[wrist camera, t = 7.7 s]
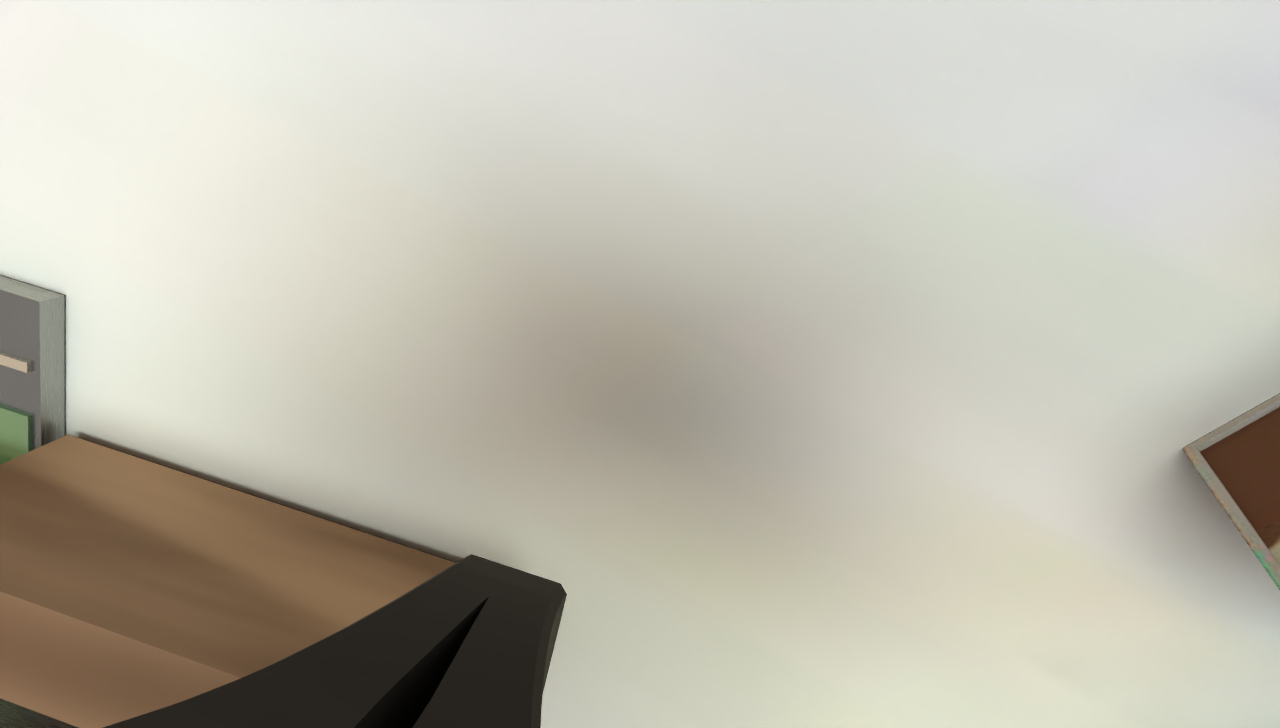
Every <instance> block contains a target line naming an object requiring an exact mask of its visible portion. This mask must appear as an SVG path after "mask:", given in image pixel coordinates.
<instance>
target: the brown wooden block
mask: <svg viewBox="0 0 1280 728" xmlns="http://www.w3.org/2000/svg"><path fill="white" fill-rule="evenodd" d="M453 564H455V562H452V561H449V560H446V559H443V558H440V557H437V556H434V555H431V554H427V553H424V552H421V551H418V550H415V549H412V548H409V547H406V546H403V545H400V544H397V543H394V542H391V541H388V540H385V539H382V538H379V537H376V536H373V535H370V534H367V533H364V532H361V531H358V530H355V529H352V528H349V527H346V526H343V525H340V524H337V523H334V522H331V521H328V520H325V519H322V518H319V517H316V516H313V515H310V514H307V513H304V512H301V511H298V510H295V509H292V508H289V507H285V506H282V505H279V504H276V503H273V502H270V501H267V500H264V499H261V498H258V497H255V496H252V495H249V494H246V493H243V492H240V491H237V490H234V489H231V488H228V487H225V486H222V485H219V484H216V483H213V482H210V481H207V480H204V479H201V478H198V477H195V476H192V475H189V474H186V473H183V472H180V471H177V470H174V469H171V468H168V467H165V466H162V465H159V464H156V463H153V462H150V461H147V460H143V459H140V458H137V457H134V456H131V455H128V454H125V453H122V452H119V451H116V450H113V449H110V448H107V447H104V446H101V445H98V444H95V443H92V442H89V441H86V440H83V439H80V438H77V437H74V436H71V435H66V436H64V437H61V438H59V439H57V440H55V441H52V442H50V443H48V444H46V445H43V446H41V447H39V448H37V449H34V450H32V451H30V452H28V453H25V454H23V455H21V456H19V457H16V458H14V459H12V460H10V461H7V462H5V463H3V464H1V465H0V698H1V699H4V700H7V701H9V702H12V703H15V704H17V705H20V706H23V707H25V708H28V709H31V710H33V711H36V712H39V713H41V714H44V715H46V716H49V717H52V718H54V719H57V720H60V721H62V722H65V723H68V724H70V725H73V726H76V727H78V728H103V727H106V726H109V725H112V724H115V723H118V722H121V721H124V720H127V719H131V718H134V717H137V716H140V715H143V714H146V713H149V712H152V711H155V710H158V709H161V708H164V707H167V706H170V705H173V704H176V703H179V702H181V701H184V700H187V699H190V698H192V697H195V696H197V695H200V694H202V693H205V692H208V691H210V690H213V689H215V688H218V687H220V686H223V685H225V684H228V683H230V682H233V681H235V680H238V679H240V678H242V677H245V676H247V675H249V674H251V673H254V672H256V671H258V670H260V669H262V668H265V667H267V666H269V665H271V664H273V663H276V662H278V661H280V660H282V659H284V658H286V657H288V656H290V655H292V654H294V653H296V652H298V651H300V650H302V649H304V648H306V647H308V646H310V645H312V644H314V643H316V642H318V641H320V640H322V639H324V638H326V637H328V636H330V635H332V634H334V633H336V632H338V631H340V630H342V629H343V628H345V627H347V626H349V625H351V624H353V623H354V622H356V621H358V620H360V619H361V618H363V617H365V616H367V615H369V614H370V613H372V612H374V611H376V610H378V609H379V608H381V607H383V606H385V605H386V604H388V603H390V602H392V601H393V600H395V599H397V598H399V597H400V596H402V595H404V594H405V593H407V592H409V591H410V590H412V589H414V588H415V587H417V586H419V585H420V584H422V583H424V582H425V581H427V580H429V579H430V578H432V577H433V576H435V575H437V574H438V573H440V572H442V571H443V570H445V569H447V568H448V567H450V566H451V565H453Z"/></svg>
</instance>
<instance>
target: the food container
mask: <svg viewBox="0 0 1280 728" xmlns="http://www.w3.org/2000/svg"><path fill="white" fill-rule="evenodd" d="M1182 449H1183V450H1184V452H1185V453H1186V454H1187V456H1188V457H1189V459H1190V460H1191V462H1192V463H1193V465H1194V466H1195V468H1196V469H1197V470H1198V472H1199V473H1200V475H1201V476H1202V478H1203V479H1204V481H1205V482H1206V484H1207V485H1208V486H1209V488H1210V489H1211V491H1212V492H1213V494H1214V495H1215V497H1216V498H1217V500H1218V501H1219V502H1220V504H1221V505H1222V507H1223V508H1224V510H1225V511H1226V513H1227V514H1228V516H1229V517H1230V518H1231V520H1232V521H1233V523H1234V524H1235V526H1236V527H1237V529H1238V530H1239V531H1240V533H1241V534H1242V536H1243V537H1244V539H1245V540H1246V542H1247V543H1248V545H1249V546H1250V547H1251V549H1252V550H1253V552H1254V553H1255V555H1256V556H1257V558H1258V559H1259V561H1260V562H1261V563H1262V565H1263V566H1264V568H1265V569H1266V571H1267V572H1268V574H1269V575H1270V577H1271V578H1272V579H1273V581H1274V582H1275V584H1276V585H1277V587H1278V588H1279V590H1280V393H1279V394H1278V395H1276V396H1274V397H1272V398H1271V399H1269V400H1267V401H1265V402H1263V403H1262V404H1260V405H1258V406H1256V407H1255V408H1253V409H1251V410H1249V411H1248V412H1246V413H1244V414H1242V415H1240V416H1239V417H1237V418H1235V419H1233V420H1232V421H1230V422H1228V423H1226V424H1225V425H1223V426H1221V427H1219V428H1217V429H1216V430H1214V431H1212V432H1210V433H1209V434H1207V435H1205V436H1203V437H1202V438H1200V439H1198V440H1196V441H1194V442H1193V443H1191V444H1189V445H1187V446H1186V447H1184V448H1182Z"/></svg>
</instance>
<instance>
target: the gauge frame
mask: <svg viewBox="0 0 1280 728" xmlns="http://www.w3.org/2000/svg"><path fill="white" fill-rule="evenodd" d="M64 436H65V295H62V294H59V293H56V292H52V291H49V290H46V289H43V288H39V287H36V286H33V285H30V284H27V283H23V282H20V281H17V280H14V279H10V278H7V277H4V276H1V275H0V465H1V464H3V463H5V462H7V461H10V460H12V459H14V458H16V457H19V456H21V455H23V454H25V453H28V452H30V451H32V450H34V449H37V448H39V447H41V446H43V445H46V444H48V443H50V442H52V441H55V440H57V439H59V438H61V437H64ZM0 728H78V727H76V726H73V725H70V724H68V723H65V722H62V721H60V720H57V719H54V718H52V717H49V716H46V715H44V714H41V713H39V712H36V711H33V710H31V709H28V708H25V707H23V706H20V705H17V704H15V703H12V702H9V701H7V700H4V699H1V698H0Z"/></svg>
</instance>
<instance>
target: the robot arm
mask: <svg viewBox="0 0 1280 728" xmlns="http://www.w3.org/2000/svg"><path fill="white" fill-rule="evenodd" d="M566 595H567V594H566V592H565V591H564V589H563V587H562V585H561V584H560V583H557V582H554V581H551V580H548V579H545V578H542V577H539V576H536V575H532V574H529V573H526V572H523V571H520V570H517V569H514V568H511V567H508V566H505V565H502V564H499V563H496V562H493V561H490V560H487V559H484V558H481V557H478V556H475V555H470V556H468V557H465V558H463V559H462V560H460V561H458V562H456V563H455V564H453V565H451V566H450V567H448V568H447V569H445V570H443V571H442V572H440V573H438V574H437V575H435V576H433V577H432V578H430V579H429V580H427V581H425V582H424V583H422V584H420V585H419V586H417V587H415V588H414V589H412V590H410V591H409V592H407V593H405V594H404V595H402V596H400V597H399V598H397V599H395V600H393V601H392V602H390V603H388V604H386V605H385V606H383V607H381V608H379V609H378V610H376V611H374V612H372V613H370V614H369V615H367V616H365V617H363V618H361V619H360V620H358V621H356V622H354V623H353V624H351V625H349V626H347V627H345V628H343V629H342V630H340V631H338V632H336V633H334V634H332V635H330V636H328V637H326V638H324V639H322V640H320V641H318V642H316V643H314V644H312V645H310V646H308V647H306V648H304V649H302V650H300V651H298V652H296V653H294V654H292V655H290V656H288V657H286V658H284V659H282V660H280V661H278V662H276V663H273V664H271V665H269V666H267V667H265V668H262V669H260V670H258V671H256V672H254V673H251V674H249V675H247V676H245V677H242V678H240V679H238V680H235V681H233V682H230V683H228V684H225V685H223V686H220V687H218V688H215V689H213V690H210V691H208V692H205V693H202V694H200V695H197V696H195V697H192V698H190V699H187V700H184V701H181V702H179V703H176V704H173V705H170V706H167V707H164V708H161V709H158V710H155V711H152V712H149V713H146V714H143V715H140V716H137V717H134V718H131V719H127V720H124V721H121V722H118V723H115V724H112V725H109V726H106V727H103V728H540V724H541V704H542V694H543V690H544V686H545V682H546V678H547V673H548V669H549V665H550V661H551V657H552V653H553V649H554V645H555V640H556V636H557V632H558V628H559V624H560V620H561V616H562V612H563V608H564V603H565V599H566Z"/></svg>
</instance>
